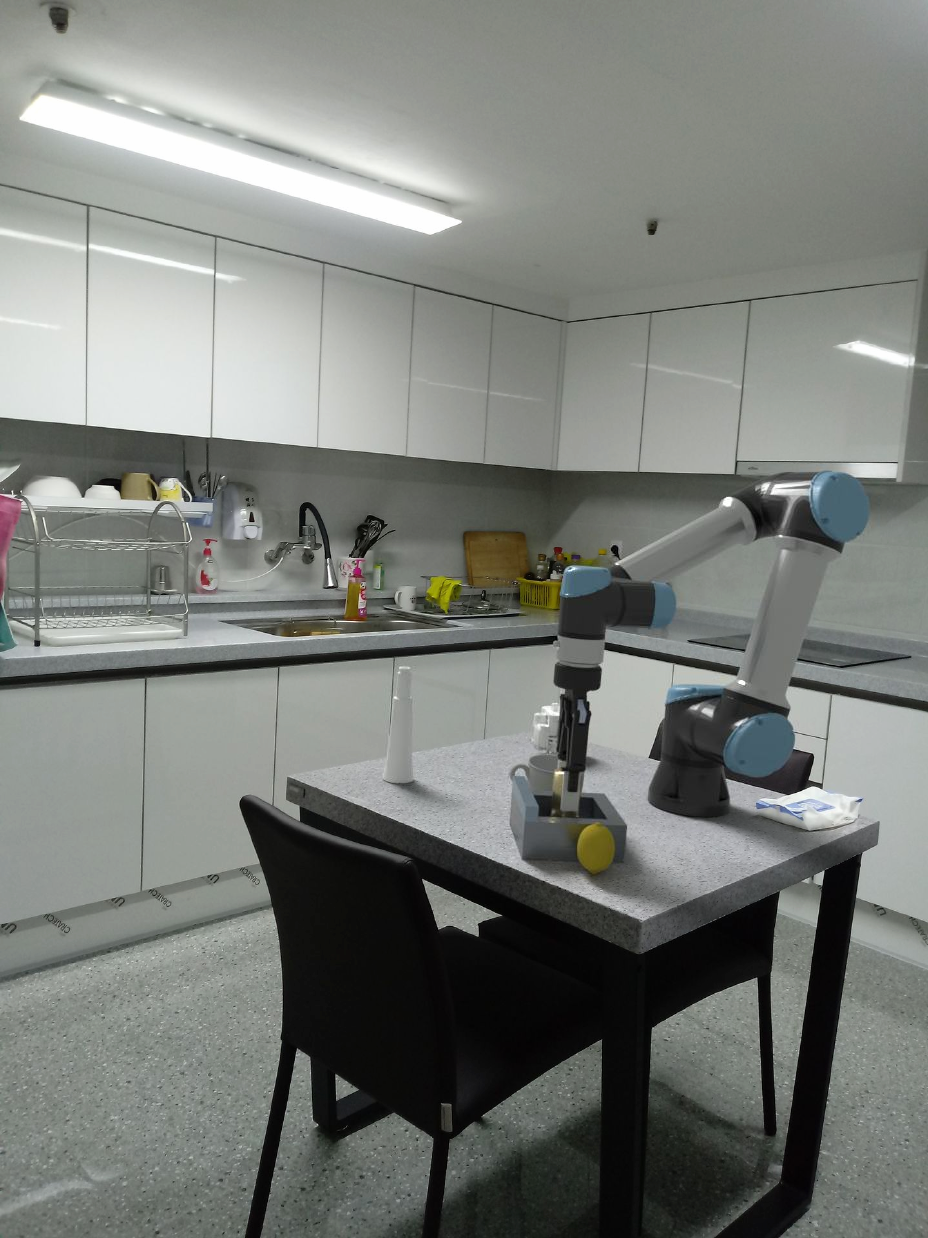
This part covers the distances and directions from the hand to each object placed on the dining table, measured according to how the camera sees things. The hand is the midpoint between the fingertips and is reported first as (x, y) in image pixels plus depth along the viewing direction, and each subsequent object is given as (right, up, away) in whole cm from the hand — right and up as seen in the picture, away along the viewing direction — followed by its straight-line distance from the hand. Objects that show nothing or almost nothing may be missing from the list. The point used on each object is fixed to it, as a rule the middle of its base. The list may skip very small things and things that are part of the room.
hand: (566, 804), depth 151 cm
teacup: (-2, -4, +21) cm, 21 cm away
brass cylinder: (0, -3, 0) cm, 3 cm away
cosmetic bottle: (-29, -1, +29) cm, 42 cm away
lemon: (+3, -8, -12) cm, 15 cm away
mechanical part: (+4, 0, +54) cm, 54 cm away
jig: (0, -6, +1) cm, 6 cm away
